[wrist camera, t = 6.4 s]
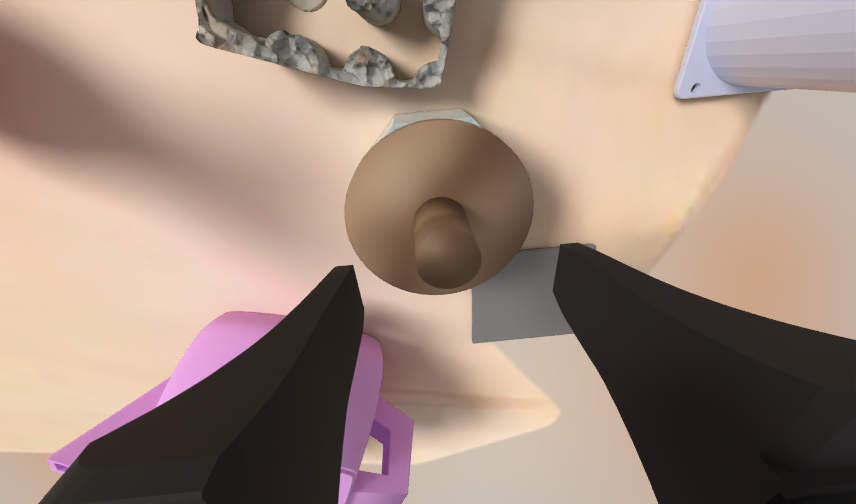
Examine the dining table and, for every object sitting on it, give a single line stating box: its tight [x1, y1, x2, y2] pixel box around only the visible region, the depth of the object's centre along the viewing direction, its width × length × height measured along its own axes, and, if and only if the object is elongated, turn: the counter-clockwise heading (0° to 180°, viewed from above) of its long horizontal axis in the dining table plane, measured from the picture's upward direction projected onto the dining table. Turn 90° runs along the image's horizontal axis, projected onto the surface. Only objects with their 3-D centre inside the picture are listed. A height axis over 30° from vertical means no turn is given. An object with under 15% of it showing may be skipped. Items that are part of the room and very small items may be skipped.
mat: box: [472, 244, 595, 343], centre depth 25 cm, size 9×9×1 cm
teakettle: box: [47, 311, 414, 504], centre depth 23 cm, size 17×17×12 cm
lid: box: [345, 119, 533, 295], centre depth 15 cm, size 10×10×5 cm
